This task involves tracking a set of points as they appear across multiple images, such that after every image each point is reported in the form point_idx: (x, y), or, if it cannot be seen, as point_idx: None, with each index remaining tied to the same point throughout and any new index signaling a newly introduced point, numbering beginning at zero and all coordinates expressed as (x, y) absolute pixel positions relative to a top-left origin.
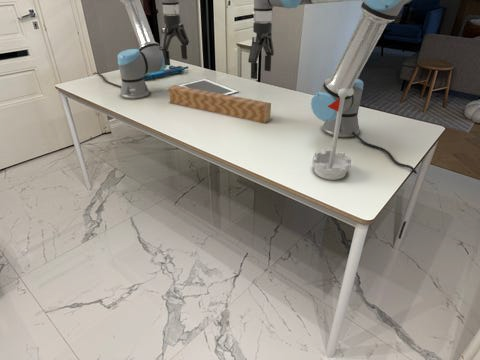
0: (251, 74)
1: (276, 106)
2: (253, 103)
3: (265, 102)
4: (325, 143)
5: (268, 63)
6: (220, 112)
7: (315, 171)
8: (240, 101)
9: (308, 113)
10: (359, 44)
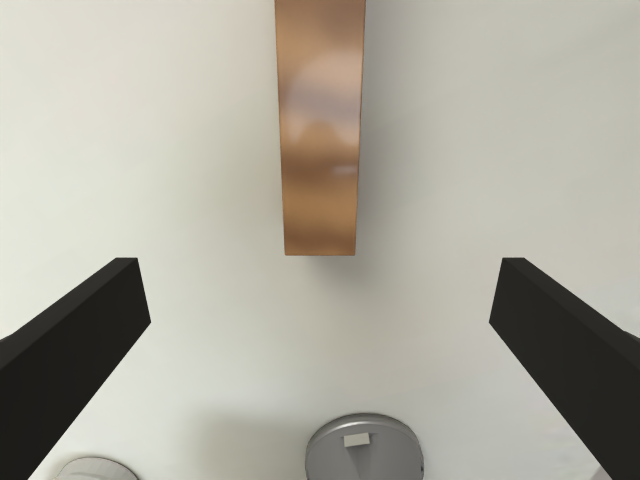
0: (88, 287)
1: (523, 181)
2: (295, 164)
3: (348, 223)
4: (247, 442)
5: (549, 367)
6: None
7: (64, 468)
8: (284, 59)
9: (479, 336)
10: None
